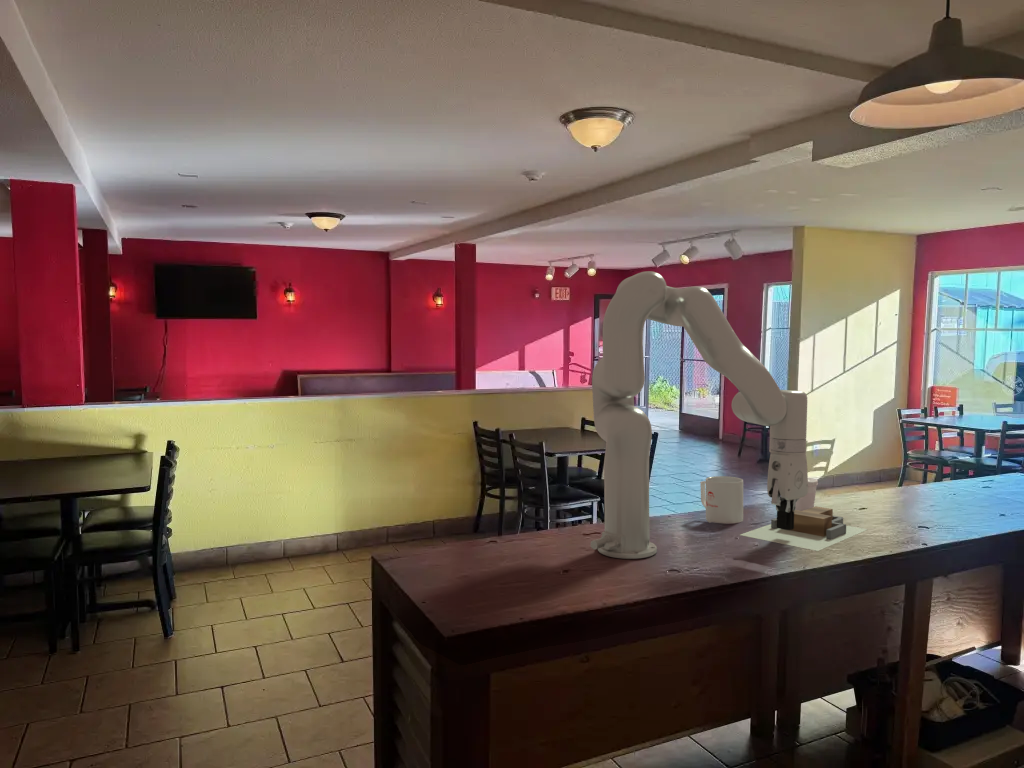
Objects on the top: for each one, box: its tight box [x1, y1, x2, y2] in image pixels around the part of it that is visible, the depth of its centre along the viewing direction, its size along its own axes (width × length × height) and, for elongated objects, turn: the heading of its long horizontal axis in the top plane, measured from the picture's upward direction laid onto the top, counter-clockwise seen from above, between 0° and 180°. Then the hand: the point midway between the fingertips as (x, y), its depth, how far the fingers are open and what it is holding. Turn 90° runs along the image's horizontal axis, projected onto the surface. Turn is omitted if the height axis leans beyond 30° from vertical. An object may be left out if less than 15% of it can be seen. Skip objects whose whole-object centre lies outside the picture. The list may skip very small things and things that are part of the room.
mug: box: [700, 475, 744, 525], centre depth 176 cm, size 12×9×11 cm
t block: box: [791, 505, 834, 537], centre depth 165 cm, size 11×10×4 cm
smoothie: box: [795, 477, 819, 511], centre depth 180 cm, size 6×6×14 cm
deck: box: [739, 515, 869, 552], centre depth 162 cm, size 25×18×3 cm
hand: (785, 528), depth 157 cm, fingers closed
